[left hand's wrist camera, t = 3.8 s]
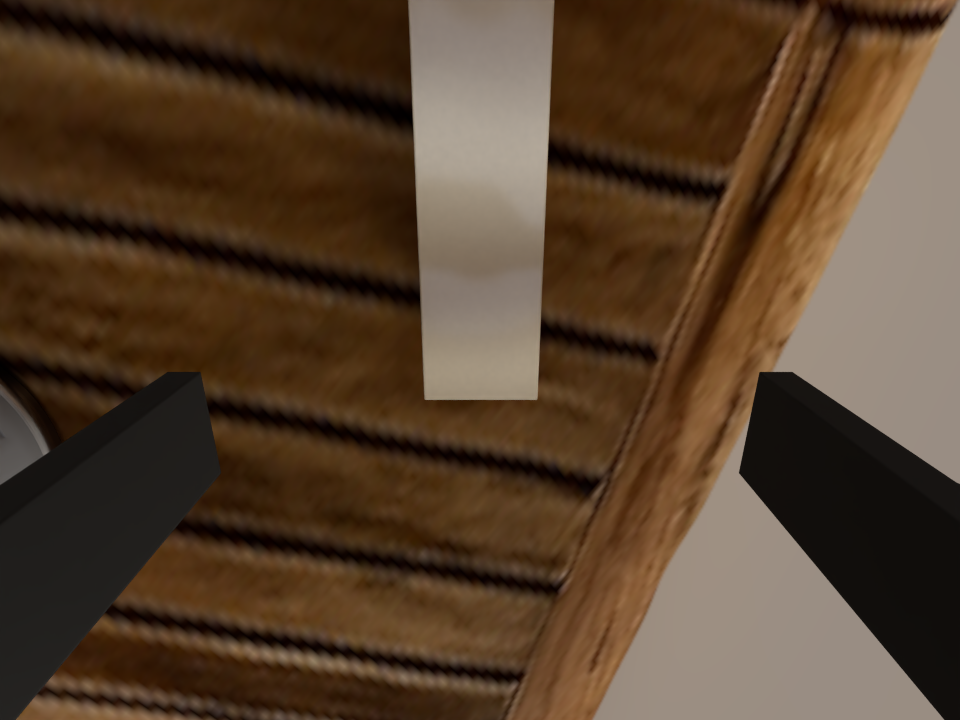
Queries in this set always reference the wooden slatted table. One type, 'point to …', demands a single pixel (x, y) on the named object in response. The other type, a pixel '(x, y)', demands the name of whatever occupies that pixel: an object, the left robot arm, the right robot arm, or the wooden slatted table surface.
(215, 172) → the wooden slatted table surface
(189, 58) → the wooden slatted table surface
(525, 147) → the ash beam
